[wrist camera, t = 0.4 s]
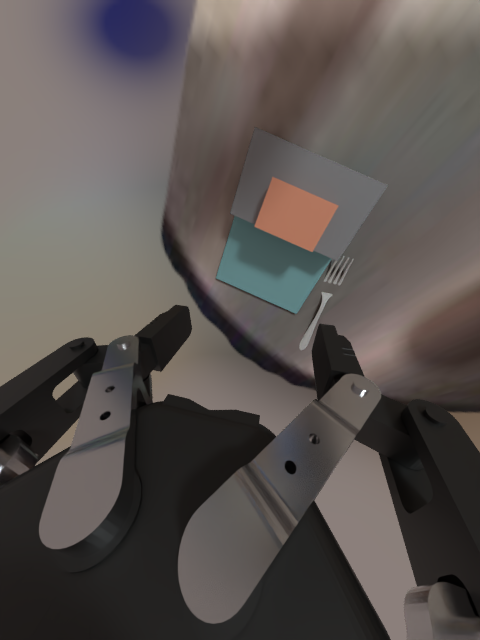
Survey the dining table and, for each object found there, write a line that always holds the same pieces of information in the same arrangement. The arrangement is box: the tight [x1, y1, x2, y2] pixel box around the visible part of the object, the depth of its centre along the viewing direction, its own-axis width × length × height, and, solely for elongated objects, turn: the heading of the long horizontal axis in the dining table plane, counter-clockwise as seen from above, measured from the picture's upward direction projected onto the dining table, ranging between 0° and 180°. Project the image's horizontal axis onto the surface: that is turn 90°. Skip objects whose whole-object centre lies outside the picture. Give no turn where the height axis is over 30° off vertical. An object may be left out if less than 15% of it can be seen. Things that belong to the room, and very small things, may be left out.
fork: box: [299, 256, 354, 350], centre depth 37 cm, size 3×24×2 cm, turn 170°
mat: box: [216, 216, 331, 314], centre depth 35 cm, size 12×18×1 cm, turn 69°
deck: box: [230, 127, 388, 261], centre depth 28 cm, size 10×18×4 cm, turn 69°
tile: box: [254, 177, 338, 252], centre depth 26 cm, size 6×9×2 cm, turn 70°
